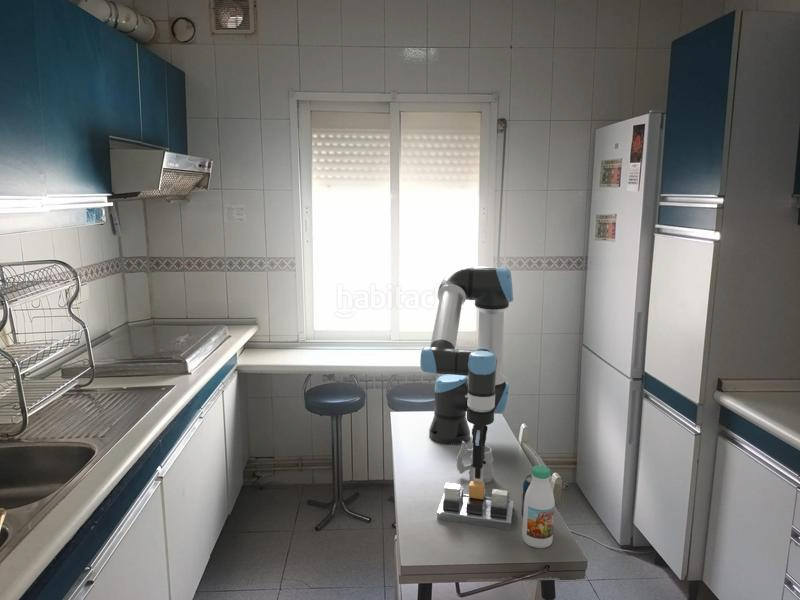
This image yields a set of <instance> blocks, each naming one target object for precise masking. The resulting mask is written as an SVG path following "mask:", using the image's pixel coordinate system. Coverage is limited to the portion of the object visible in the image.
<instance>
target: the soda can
mask: <svg viewBox="0 0 800 600" xmlns="http://www.w3.org/2000/svg"><path fill="white" fill-rule="evenodd" d="M531 481H532V474H528V475H526V477H525V480H524V481H523V483H522V498H521V501H522V502H521V516H522V518H523V511H524V499H525V494H526V491H527V489H528V487H529V485H530V484H531Z"/></svg>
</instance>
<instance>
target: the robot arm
mask: <svg viewBox="0 0 800 600" xmlns="http://www.w3.org/2000/svg"><path fill="white" fill-rule="evenodd" d="M512 277H513V276H512V271H511V269H509V268H508V267H500V266H472V265H471V266H470V265H465V266H460V267H457V268H456V269H454V270H452V271H451V272H450V273H448V274H447V275H446V276H445V277H444V279H442V281H441V283H440V285H439V286H438V291H437V298H438V306H437V311H436V315H435V316H436V317H435V320H434V326H433V331H432V336H431V341H430V345H429V346H428V347H423V348H422V350H421V351H420V358H419V359H420V361H419V363H420V370H421V372H422V373H427V374H428V373H429V374H434V375H441V376H439V377H437V378H436V380H435V385H434V390H433V391H434V416H433V419H432V421H431V424H430V427H429V430H428V431H429V432H428V434H429V435H428V436H429V438H430V439H431V440H432V441H434V442H436V443H439V444H444V445H460V444H462V441H464V442H465V443H466V442H468V441H469V440H470V439H471V436H472V447H473V464H472V463H471V462H470V464H471V467H473V481H476V482H483V467H484V465H483V464H486V461H484V458H485V456H484V452H485V445H486V441H487V433H488V426H489V425H492V424H493V423H494V421H495V415H501V414H503V413H504V412H505V411H506V408H507V402H508V398H509V389H510V383H509V382H508V381H506V376H505V375H504V374H502V369H503V367H502V366H503V346H504V344H503V341H504V321H505V320H504V317H505V311H506V310H507V309H508V308H509V305H510V303H512V302H513V301H514V292H513V291H514V289H513V280H512V279H513V278H512ZM466 301H474V307H475V308H477V310H478V335H477V336H478V338H477V342H478V343H477V349H460V348H456V346H457V341H458V339H457V338H458V332H459V326H460V320H461V319H460V318H461V312H462V306H463V305H464V303H465V302H466ZM469 424H473V427H472V429H471V430H470V427H469Z"/></svg>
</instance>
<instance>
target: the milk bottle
mask: <svg viewBox="0 0 800 600" xmlns="http://www.w3.org/2000/svg"><path fill="white" fill-rule="evenodd" d="M531 475H532V481H531V484H530V485H529V487H528V489H527V491H526V494H525V499H524V511H523V517H522V529H521V530H522V531H521V532H522V534H521V538H522V540H523V542H524V543H525V544H526V545H528V546H530V547H532V548H535V549H546V548H548V547H550V546H551V545H552V544H553V539H554V525H555V524H554V523H555V506H556V505H555V503H556V501H555V495H554V492H553V489H552V486H551V484H550V479H551V469H550V468H549V467H548V466H546V465H542V464H541V465H540V464H537V465H534V466H533V467H532V468H531Z"/></svg>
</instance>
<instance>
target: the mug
mask: <svg viewBox="0 0 800 600" xmlns="http://www.w3.org/2000/svg"><path fill="white" fill-rule="evenodd" d="M466 454H471V455H470V457H469V459H470V463H468V464H466V465H465V464H464V463H463V458H464V457H465V455H466ZM484 456H485V458H484V461H486V464H483V465H484V467H483V482H484V483H485V484H488V483H490V482H492V480H493V477H494V475H495V474H494V471H493V462H494V457H493V449H492V447H490V446H488V445H486V444H485V452H484ZM455 462H456V470H457V471H458V472H459V474H461V475H462V474H463V473H465V472H466V471H468V474H469V479H470V481H473V467H471V463H472V464H473V446H472V448H468V444H467V443H466V442H464V441H462V443H461V447H460V450H459V452H458V454H457V456H456V458H455Z"/></svg>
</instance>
